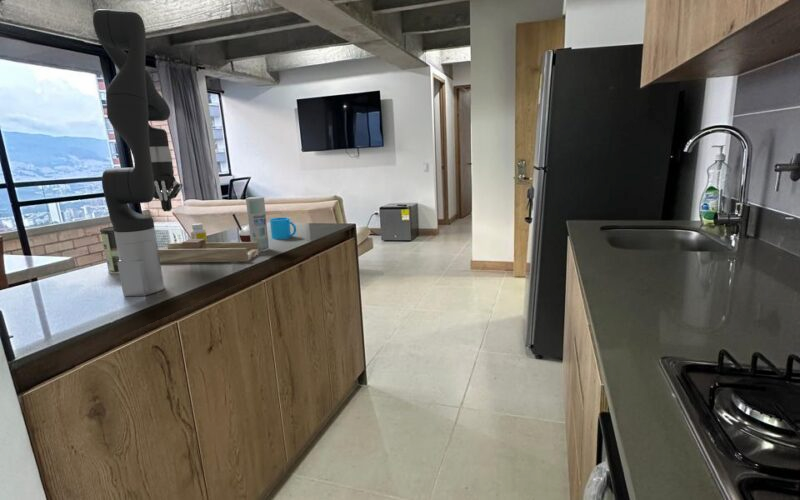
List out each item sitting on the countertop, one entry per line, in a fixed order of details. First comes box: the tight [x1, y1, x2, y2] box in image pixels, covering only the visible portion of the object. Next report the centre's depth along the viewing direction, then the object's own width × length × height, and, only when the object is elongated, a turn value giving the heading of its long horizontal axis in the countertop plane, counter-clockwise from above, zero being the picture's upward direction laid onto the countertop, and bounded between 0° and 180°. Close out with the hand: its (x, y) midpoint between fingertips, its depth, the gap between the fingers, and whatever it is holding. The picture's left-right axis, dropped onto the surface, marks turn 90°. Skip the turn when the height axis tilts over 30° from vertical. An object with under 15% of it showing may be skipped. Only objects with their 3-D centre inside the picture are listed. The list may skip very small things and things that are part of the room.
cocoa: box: [231, 213, 251, 242], centre depth 175 cm, size 10×6×12 cm, turn 69°
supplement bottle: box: [190, 223, 208, 243], centre depth 166 cm, size 5×5×10 cm
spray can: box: [245, 196, 270, 253], centre depth 159 cm, size 6×6×20 cm
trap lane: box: [158, 241, 260, 264], centre depth 150 cm, size 11×34×4 cm, turn 87°
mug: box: [269, 217, 297, 240], centre depth 183 cm, size 12×8×8 cm
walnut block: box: [181, 238, 207, 249], centre depth 150 cm, size 6×6×4 cm
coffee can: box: [99, 226, 120, 275], centre depth 137 cm, size 10×10×14 cm
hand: (167, 211), depth 148 cm, fingers closed
